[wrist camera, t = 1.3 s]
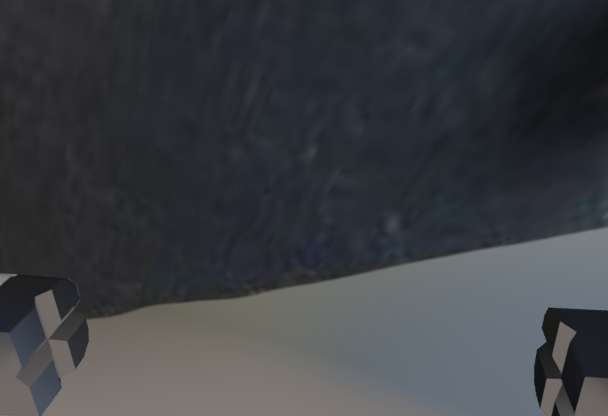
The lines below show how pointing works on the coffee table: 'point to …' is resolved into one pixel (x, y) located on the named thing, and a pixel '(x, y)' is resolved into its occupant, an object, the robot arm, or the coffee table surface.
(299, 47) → the coffee table surface
